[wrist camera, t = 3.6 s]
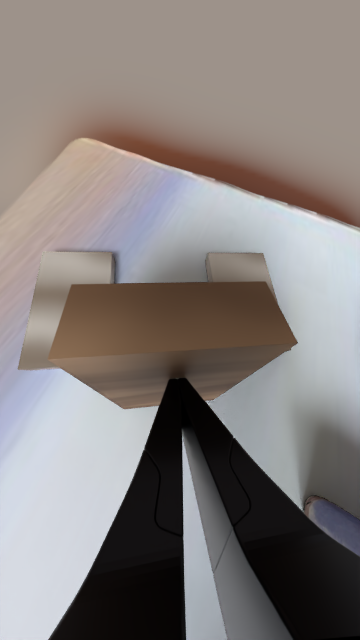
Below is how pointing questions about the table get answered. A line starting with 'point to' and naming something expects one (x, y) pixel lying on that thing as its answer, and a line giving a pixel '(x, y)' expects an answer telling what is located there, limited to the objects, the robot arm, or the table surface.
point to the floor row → (100, 269)
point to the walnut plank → (167, 337)
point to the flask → (334, 522)
